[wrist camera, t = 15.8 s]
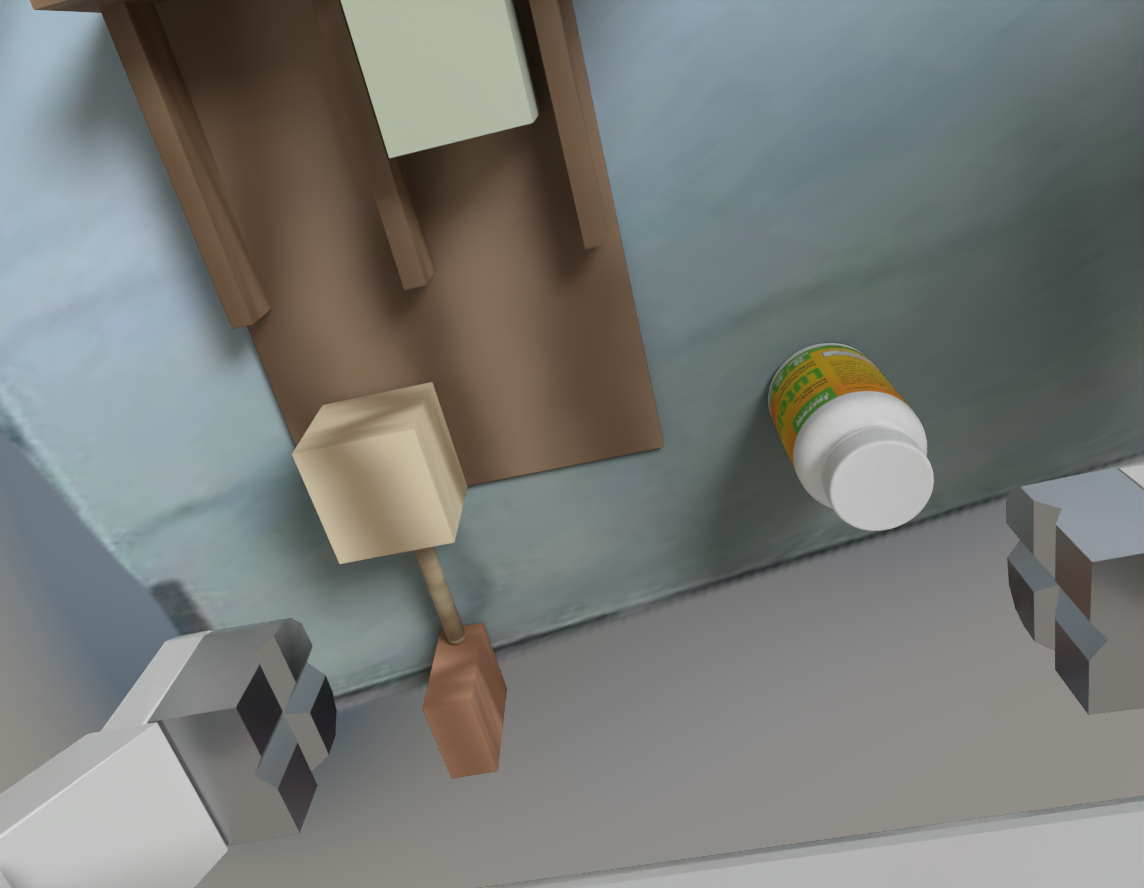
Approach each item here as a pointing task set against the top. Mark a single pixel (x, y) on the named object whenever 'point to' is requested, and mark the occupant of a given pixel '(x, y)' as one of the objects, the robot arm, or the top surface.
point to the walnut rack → (398, 230)
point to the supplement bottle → (851, 437)
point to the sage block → (442, 69)
